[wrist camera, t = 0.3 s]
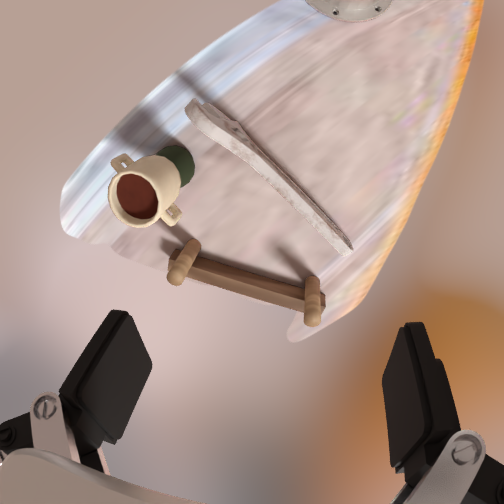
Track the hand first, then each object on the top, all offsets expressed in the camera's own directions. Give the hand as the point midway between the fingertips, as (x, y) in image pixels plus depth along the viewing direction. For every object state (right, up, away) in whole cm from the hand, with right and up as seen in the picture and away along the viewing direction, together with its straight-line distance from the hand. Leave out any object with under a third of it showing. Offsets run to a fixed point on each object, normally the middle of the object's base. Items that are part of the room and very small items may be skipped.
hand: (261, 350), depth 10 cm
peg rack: (0, 0, +40) cm, 40 cm away
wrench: (+4, +14, +31) cm, 34 cm away
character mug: (-11, +16, +32) cm, 38 cm away
